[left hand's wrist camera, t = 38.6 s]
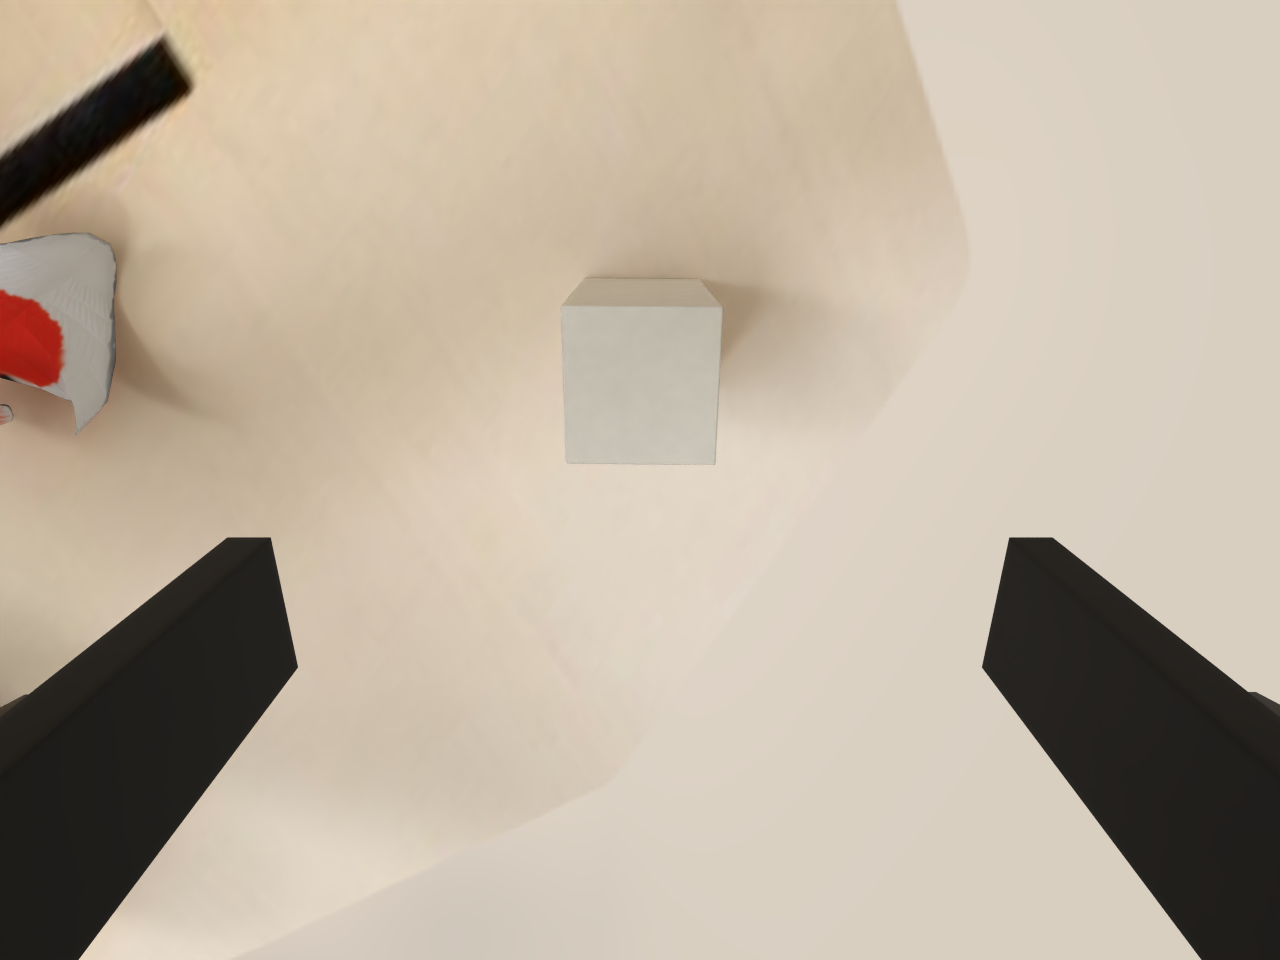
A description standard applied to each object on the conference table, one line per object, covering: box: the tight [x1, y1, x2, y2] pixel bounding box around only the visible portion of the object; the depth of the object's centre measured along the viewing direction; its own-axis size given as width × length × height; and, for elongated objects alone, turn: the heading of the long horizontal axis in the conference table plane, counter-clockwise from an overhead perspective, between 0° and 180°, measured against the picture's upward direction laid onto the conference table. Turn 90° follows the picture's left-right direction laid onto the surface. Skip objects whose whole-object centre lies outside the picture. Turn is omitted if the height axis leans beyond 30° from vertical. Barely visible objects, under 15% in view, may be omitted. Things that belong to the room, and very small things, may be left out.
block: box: [561, 278, 723, 465], centre depth 33 cm, size 6×6×12 cm
